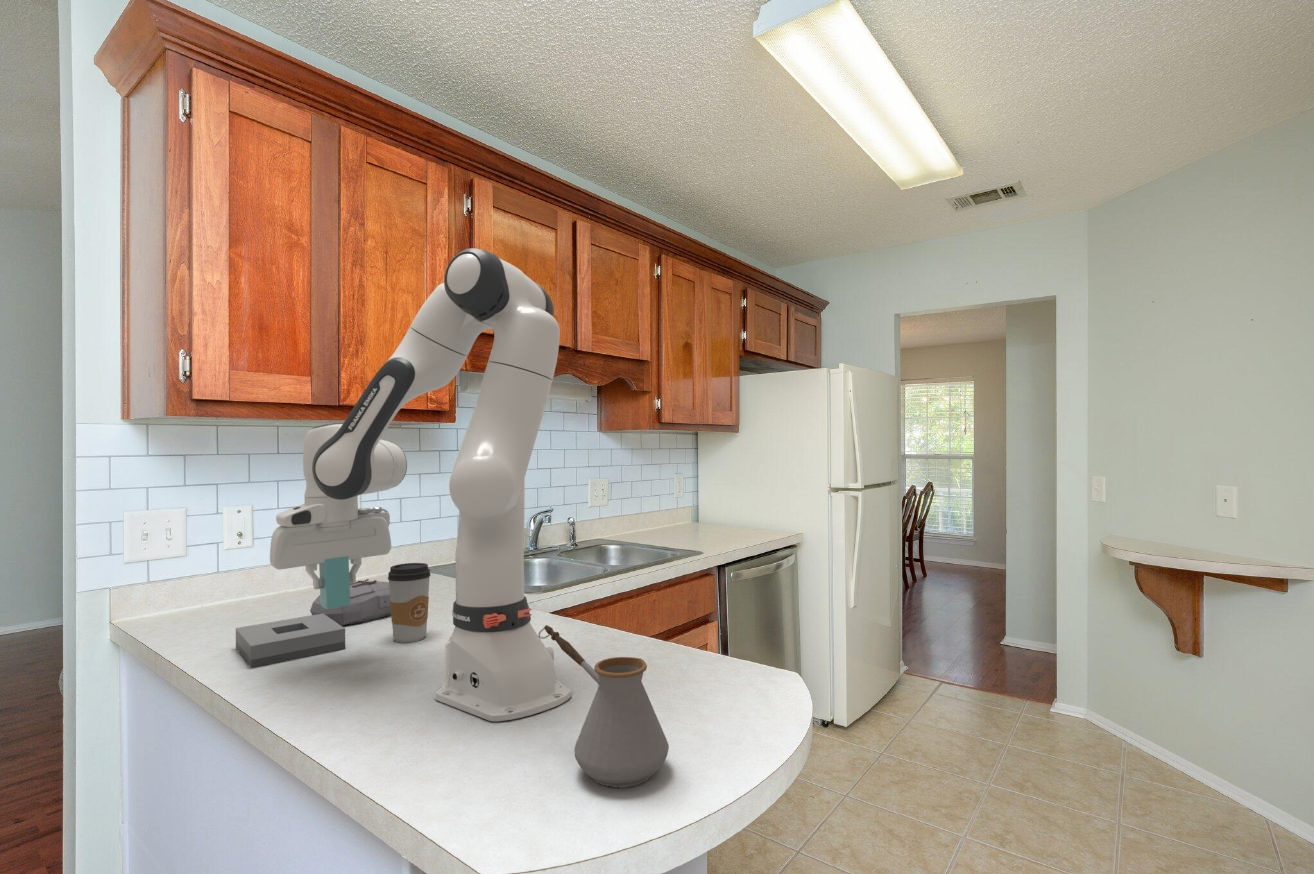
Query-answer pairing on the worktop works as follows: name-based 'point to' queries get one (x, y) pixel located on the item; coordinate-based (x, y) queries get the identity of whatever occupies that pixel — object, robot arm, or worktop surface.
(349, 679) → the worktop surface
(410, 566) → the coffee cup
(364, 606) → the small grey backpack
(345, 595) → the plug
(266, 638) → the socket
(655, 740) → the coffee pot
